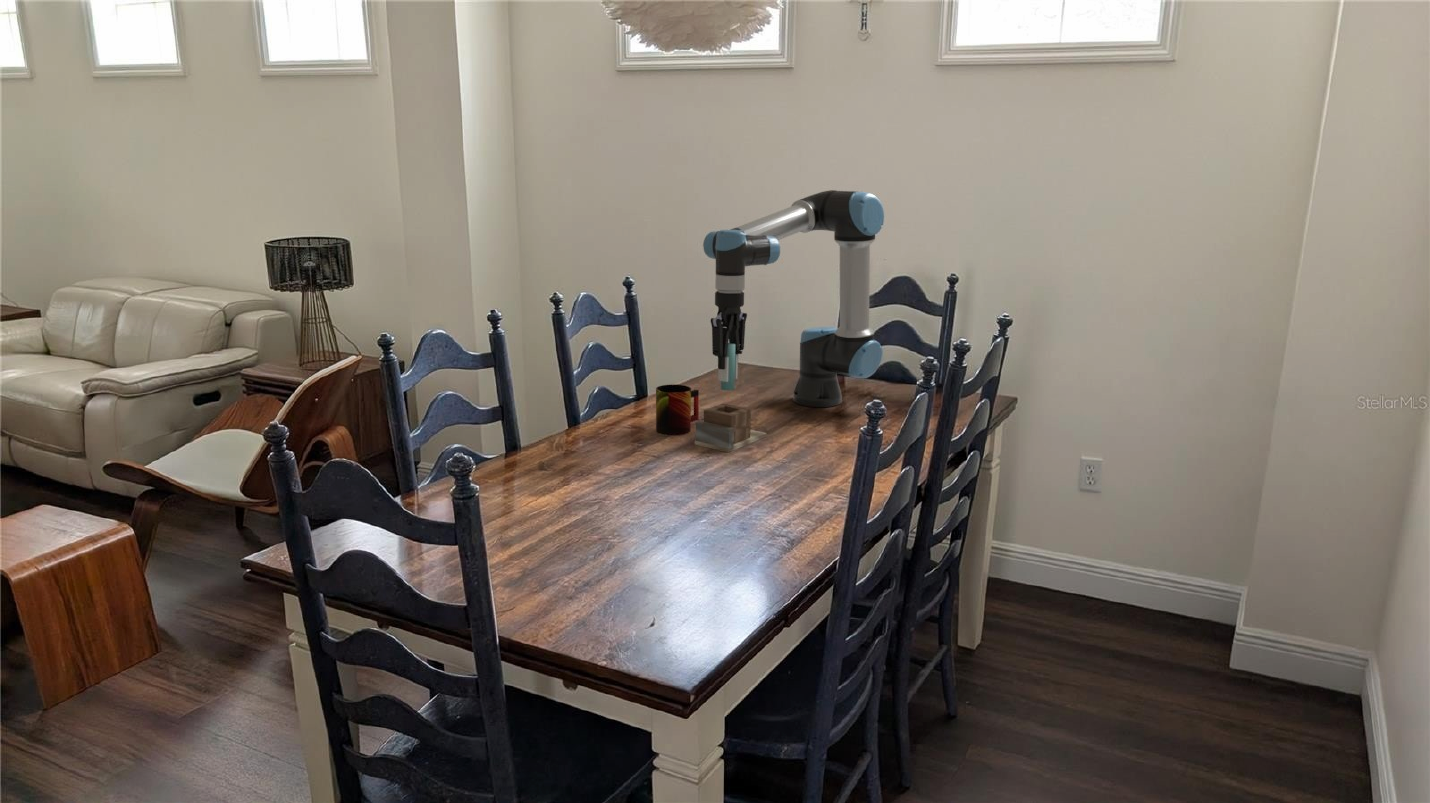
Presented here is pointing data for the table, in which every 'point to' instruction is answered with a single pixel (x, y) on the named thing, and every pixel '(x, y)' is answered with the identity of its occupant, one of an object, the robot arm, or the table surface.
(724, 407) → the block
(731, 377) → the dowel
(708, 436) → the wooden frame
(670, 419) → the mug
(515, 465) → the table surface
